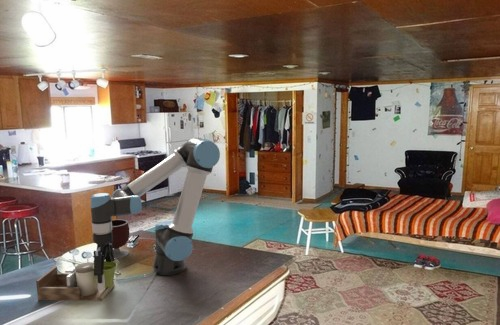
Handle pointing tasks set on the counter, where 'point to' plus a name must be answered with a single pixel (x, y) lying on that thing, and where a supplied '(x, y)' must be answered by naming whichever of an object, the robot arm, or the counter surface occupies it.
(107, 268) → the plant pot
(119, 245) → the mate gourd
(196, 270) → the counter surface
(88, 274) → the cream jar
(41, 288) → the wooden organizer tray
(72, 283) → the pusher
